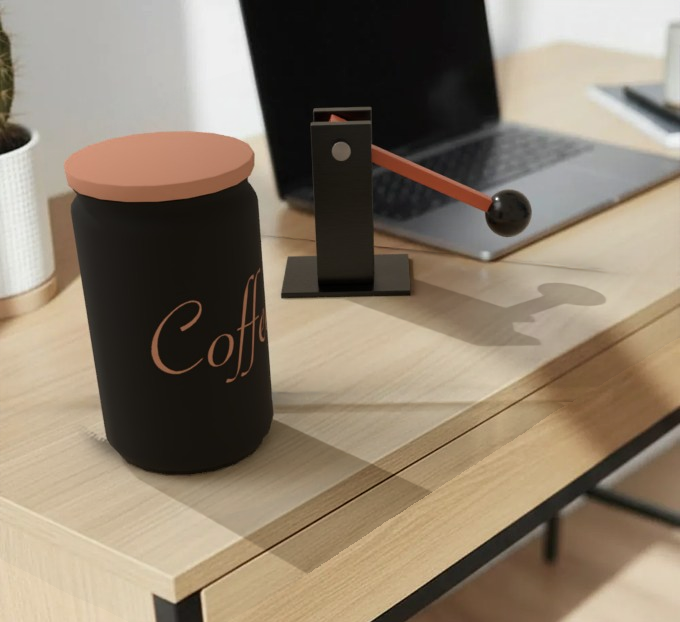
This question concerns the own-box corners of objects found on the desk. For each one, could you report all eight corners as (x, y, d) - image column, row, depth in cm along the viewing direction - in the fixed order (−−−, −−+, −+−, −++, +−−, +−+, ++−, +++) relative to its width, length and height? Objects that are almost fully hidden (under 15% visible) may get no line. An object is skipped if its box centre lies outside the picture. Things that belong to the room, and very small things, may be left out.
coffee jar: (169, 500, 70) (130, 199, 61) (75, 437, 77) (27, 158, 68) (308, 438, 76) (293, 154, 67) (209, 385, 83) (182, 120, 73)
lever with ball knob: (515, 235, 96) (537, 194, 94) (520, 250, 93) (542, 209, 91) (317, 147, 93) (335, 104, 91) (314, 161, 89) (333, 116, 88)
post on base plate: (408, 270, 100) (407, 100, 93) (410, 308, 93) (409, 128, 86) (288, 273, 100) (278, 104, 93) (281, 311, 94) (270, 132, 86)
